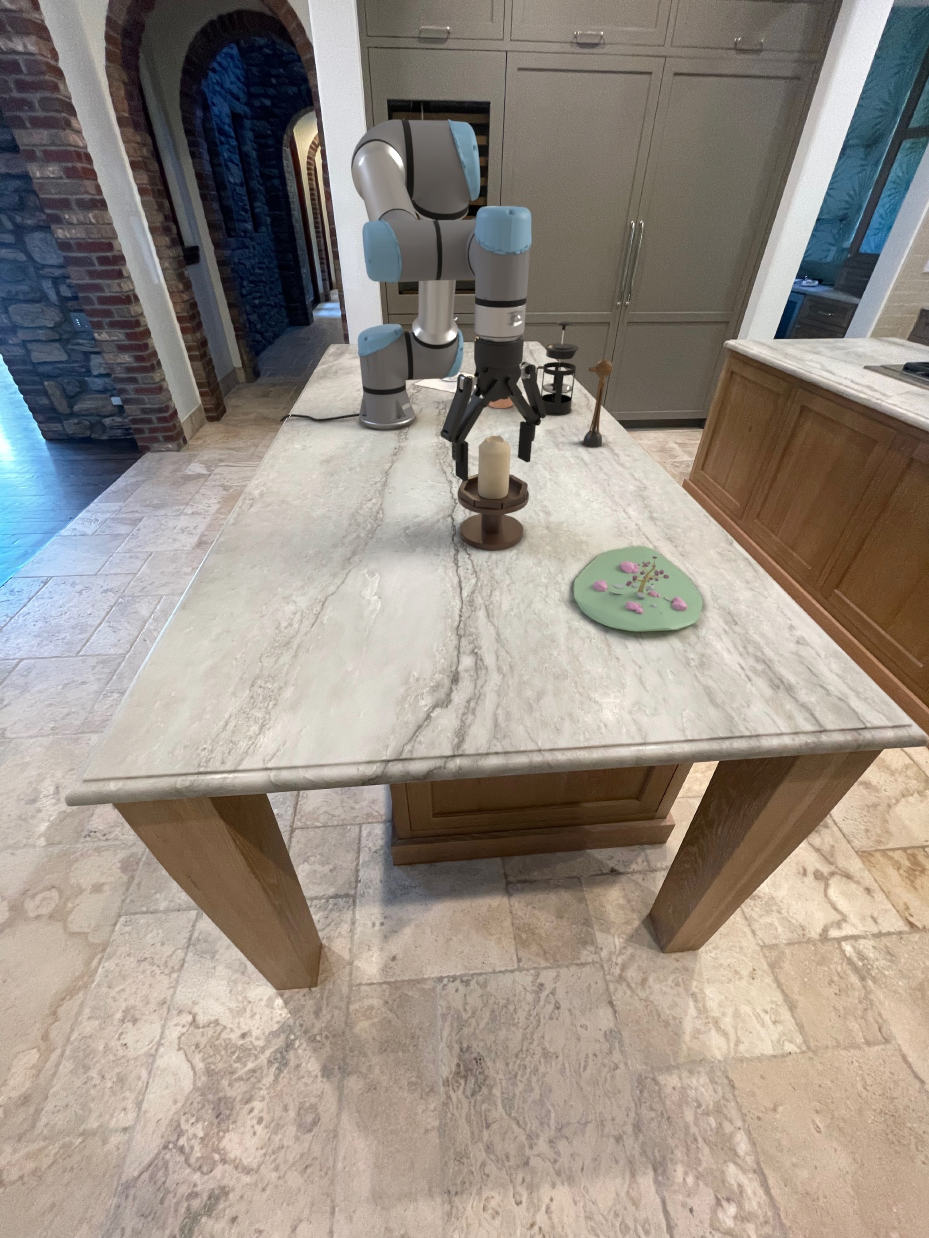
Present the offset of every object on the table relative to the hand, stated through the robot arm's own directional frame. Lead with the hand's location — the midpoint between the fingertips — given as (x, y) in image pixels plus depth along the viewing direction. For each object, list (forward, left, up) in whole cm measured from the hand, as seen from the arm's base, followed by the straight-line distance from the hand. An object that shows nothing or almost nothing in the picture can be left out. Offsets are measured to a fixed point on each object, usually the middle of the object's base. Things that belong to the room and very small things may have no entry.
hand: (493, 468), depth 94 cm
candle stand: (0, 0, -13) cm, 13 cm away
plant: (+26, -13, -13) cm, 32 cm away
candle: (0, 0, -5) cm, 5 cm away
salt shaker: (-9, +75, -13) cm, 76 cm away
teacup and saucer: (-27, +95, -13) cm, 99 cm away
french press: (+7, +73, -13) cm, 74 cm away
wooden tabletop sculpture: (+18, +49, -13) cm, 54 cm away
